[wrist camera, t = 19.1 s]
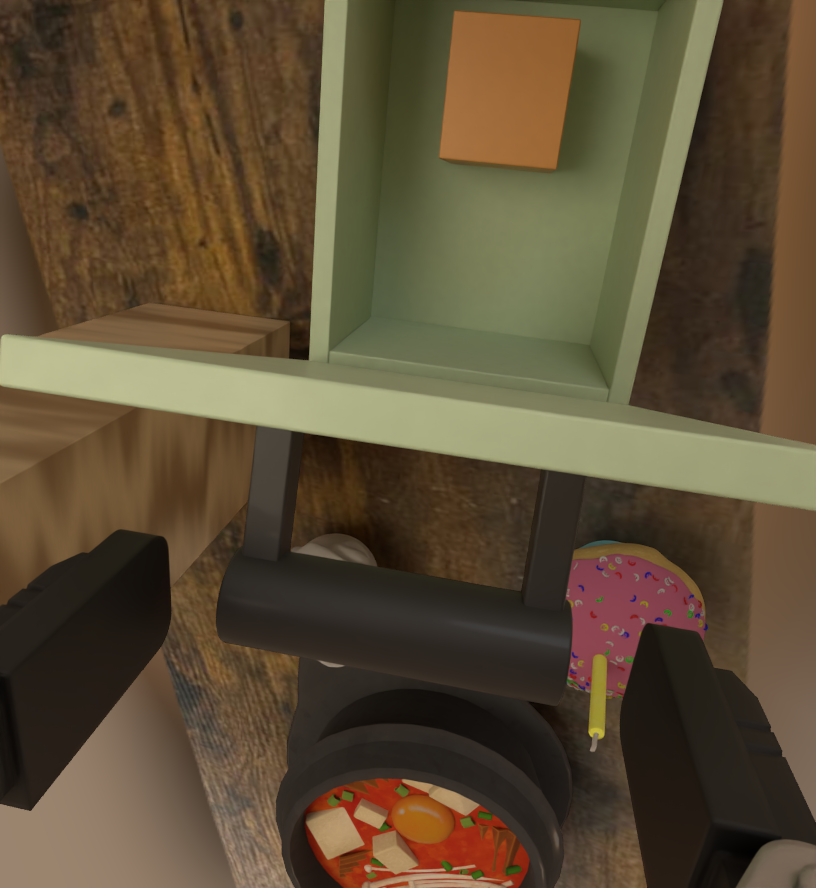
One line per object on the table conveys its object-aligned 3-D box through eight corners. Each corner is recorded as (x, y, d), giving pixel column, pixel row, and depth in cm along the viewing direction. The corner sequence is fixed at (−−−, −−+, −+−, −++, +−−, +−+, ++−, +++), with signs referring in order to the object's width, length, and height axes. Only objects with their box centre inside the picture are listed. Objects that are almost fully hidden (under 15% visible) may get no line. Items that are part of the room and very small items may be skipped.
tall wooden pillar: (149, 302, 36) (-330, 444, 16) (290, 321, 35) (-26, 496, 15) (156, 437, 39) (-241, 704, 19) (286, 458, 38) (17, 761, 18)
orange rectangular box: (464, 39, 29) (453, 9, 24) (571, 47, 28) (581, 18, 23) (450, 163, 30) (438, 158, 26) (551, 173, 30) (556, 170, 25)
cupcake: (576, 657, 40) (597, 837, 29) (500, 549, 38) (491, 697, 27) (713, 598, 37) (794, 772, 26) (637, 479, 35) (690, 611, 24)
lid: (-2, 332, 10) (-22, 654, 10) (892, 461, 8) (811, 824, 9) (306, 360, 26) (291, 485, 27) (631, 405, 25) (607, 537, 25)
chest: (383, -26, 29) (329, -111, 21) (678, -5, 27) (744, -88, 19) (358, 326, 35) (308, 367, 27) (601, 358, 33) (627, 412, 25)
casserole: (595, 885, 46) (611, 1025, 38) (346, 887, 50) (314, 1013, 43) (537, 579, 38) (541, 677, 30) (247, 611, 42) (186, 705, 35)
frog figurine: (315, 612, 42) (277, 689, 35) (284, 514, 39) (237, 577, 33) (407, 602, 40) (386, 681, 34) (380, 500, 38) (352, 563, 32)
